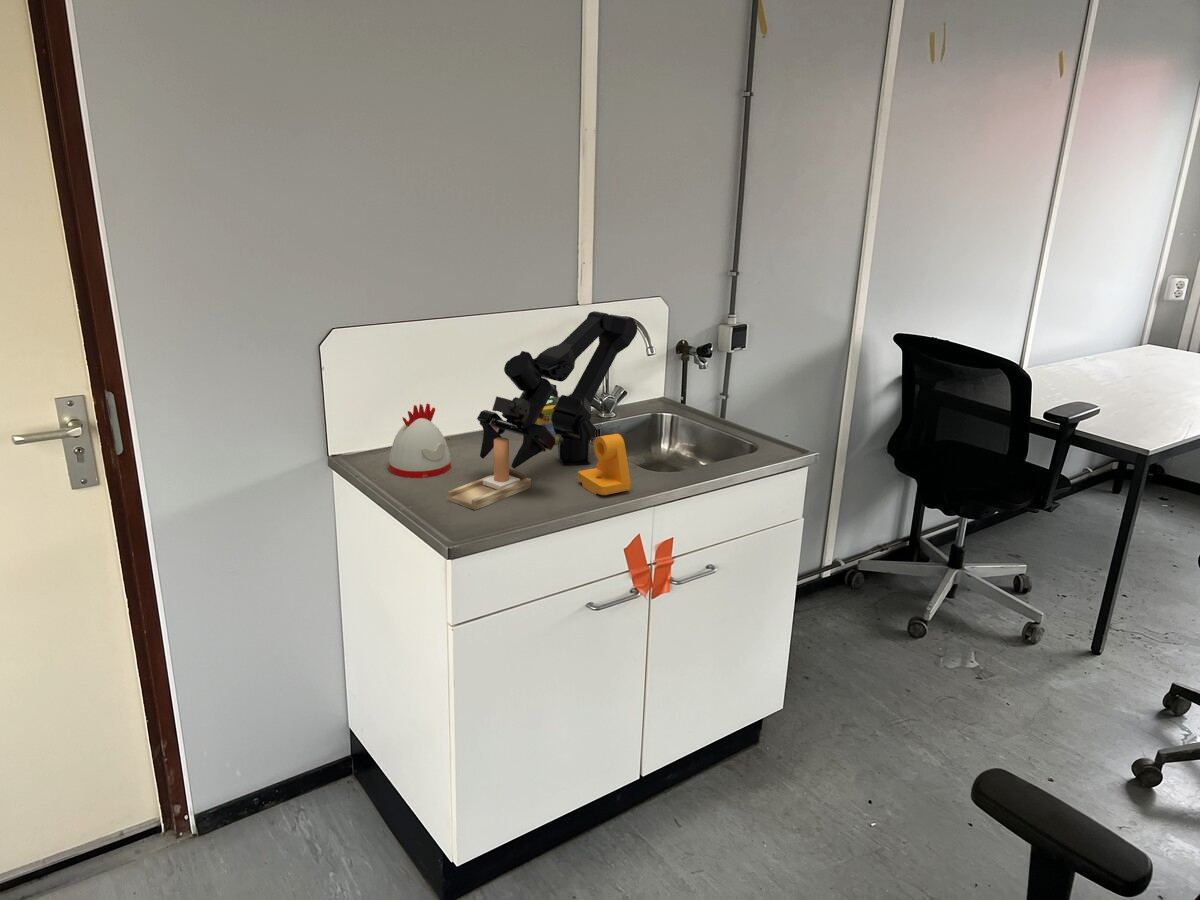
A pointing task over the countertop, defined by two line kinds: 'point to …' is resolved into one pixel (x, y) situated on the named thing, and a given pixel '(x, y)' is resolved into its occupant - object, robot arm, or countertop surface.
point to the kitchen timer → (419, 447)
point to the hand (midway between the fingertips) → (496, 462)
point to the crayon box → (549, 418)
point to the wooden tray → (487, 491)
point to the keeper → (501, 466)
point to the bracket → (607, 467)
